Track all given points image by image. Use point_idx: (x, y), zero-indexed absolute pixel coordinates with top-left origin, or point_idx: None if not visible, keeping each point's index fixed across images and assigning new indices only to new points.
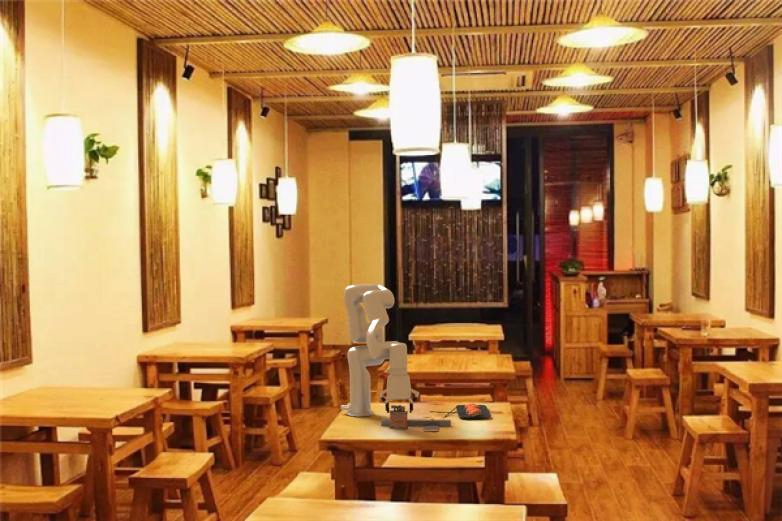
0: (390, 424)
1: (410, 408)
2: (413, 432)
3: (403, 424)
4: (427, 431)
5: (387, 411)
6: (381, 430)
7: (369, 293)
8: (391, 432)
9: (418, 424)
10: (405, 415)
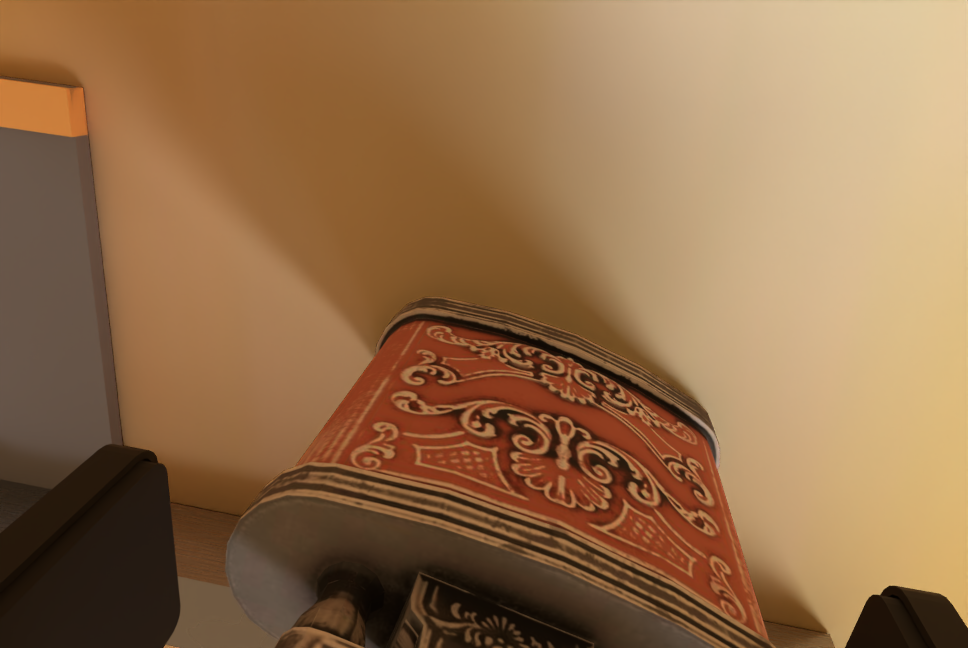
0: (713, 461)
1: (26, 540)
2: (271, 41)
3: (444, 348)
4: (16, 80)
5: (950, 625)
6: (920, 289)
7: None
8: (736, 74)
9: (212, 530)
10: (331, 447)
